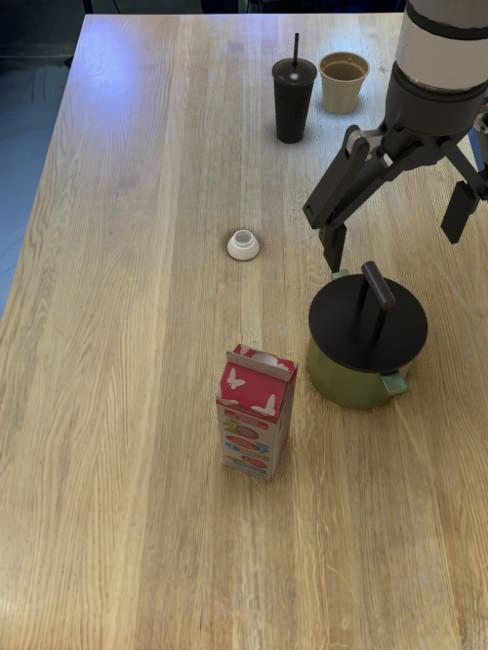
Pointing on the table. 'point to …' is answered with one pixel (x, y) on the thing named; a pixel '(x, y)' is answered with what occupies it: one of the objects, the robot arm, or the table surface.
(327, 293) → the lid
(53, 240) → the table surface
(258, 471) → the juice carton
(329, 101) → the flower pot
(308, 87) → the drinking cup
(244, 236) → the white jar
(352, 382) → the pot
